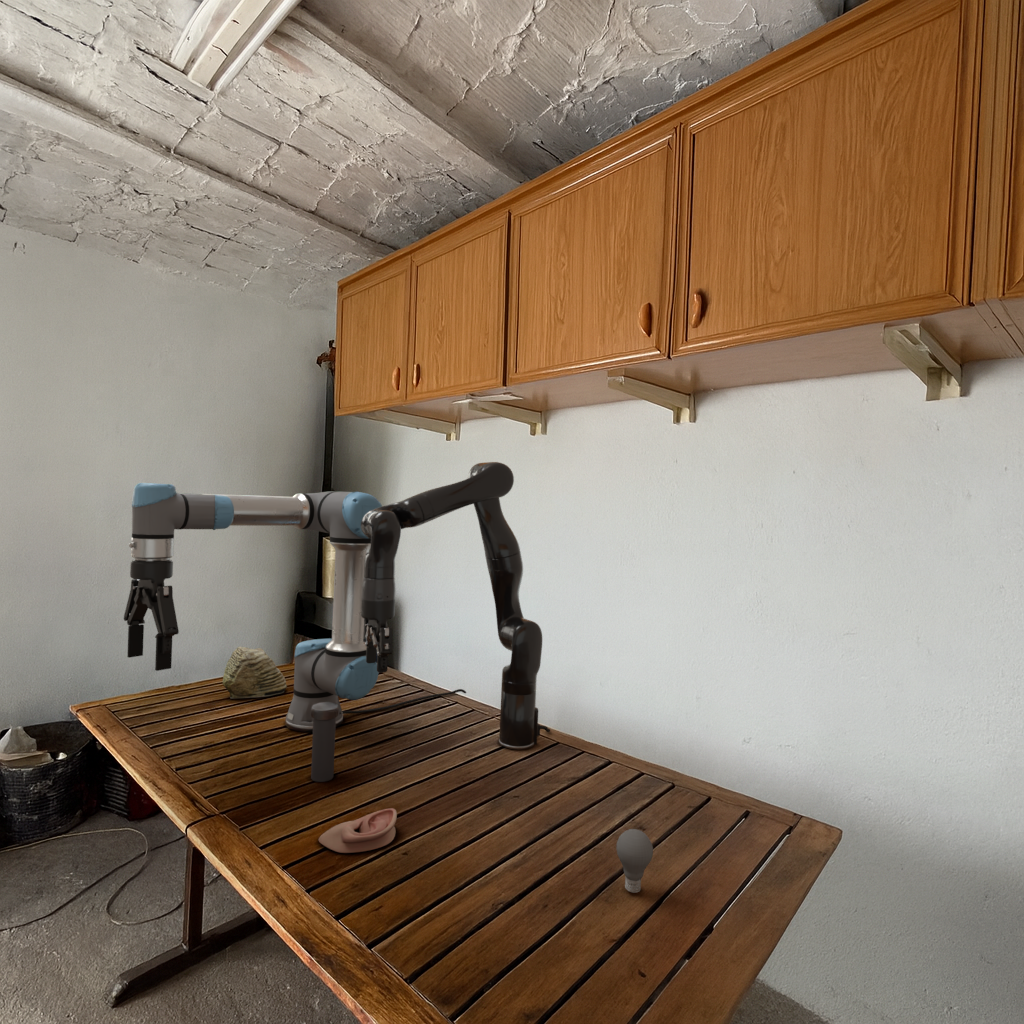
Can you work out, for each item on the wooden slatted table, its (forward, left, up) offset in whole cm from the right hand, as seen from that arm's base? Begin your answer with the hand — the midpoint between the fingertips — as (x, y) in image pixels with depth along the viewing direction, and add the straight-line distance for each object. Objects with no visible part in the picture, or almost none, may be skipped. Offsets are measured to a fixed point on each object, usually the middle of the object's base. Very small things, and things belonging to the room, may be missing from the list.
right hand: (376, 667), depth 145 cm
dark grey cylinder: (+11, -3, -25) cm, 27 cm away
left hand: (+46, -7, +3) cm, 46 cm away
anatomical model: (+10, +26, -25) cm, 37 cm away
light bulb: (-26, +61, -25) cm, 70 cm away
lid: (+11, -3, -9) cm, 14 cm away
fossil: (+17, -69, -25) cm, 76 cm away
